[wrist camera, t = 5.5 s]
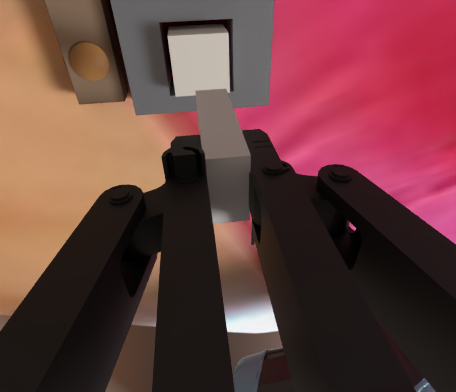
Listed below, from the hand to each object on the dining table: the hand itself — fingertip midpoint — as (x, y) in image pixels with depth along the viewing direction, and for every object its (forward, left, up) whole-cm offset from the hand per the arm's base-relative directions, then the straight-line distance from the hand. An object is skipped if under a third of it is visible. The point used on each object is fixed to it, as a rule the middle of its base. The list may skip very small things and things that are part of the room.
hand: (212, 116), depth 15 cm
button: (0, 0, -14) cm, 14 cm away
